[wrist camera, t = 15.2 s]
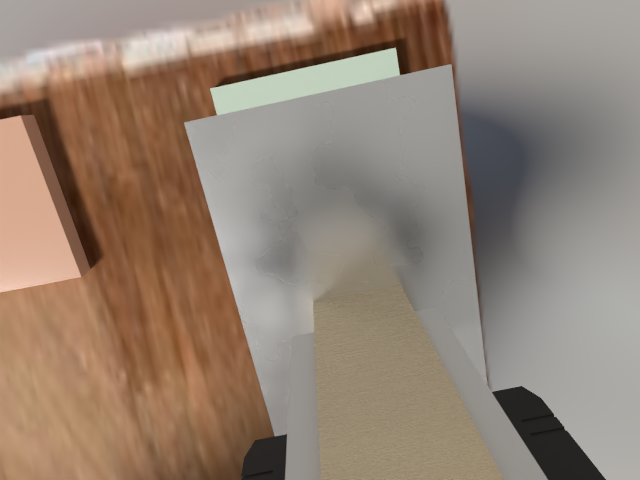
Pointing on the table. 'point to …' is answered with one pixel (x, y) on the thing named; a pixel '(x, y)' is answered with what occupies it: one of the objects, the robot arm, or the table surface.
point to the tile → (33, 212)
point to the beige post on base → (354, 266)
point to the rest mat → (305, 81)
